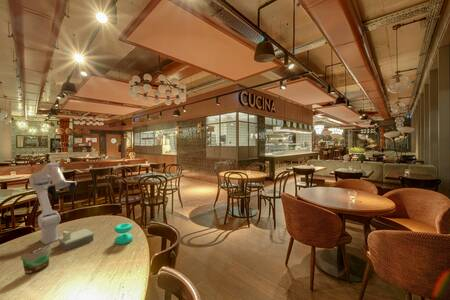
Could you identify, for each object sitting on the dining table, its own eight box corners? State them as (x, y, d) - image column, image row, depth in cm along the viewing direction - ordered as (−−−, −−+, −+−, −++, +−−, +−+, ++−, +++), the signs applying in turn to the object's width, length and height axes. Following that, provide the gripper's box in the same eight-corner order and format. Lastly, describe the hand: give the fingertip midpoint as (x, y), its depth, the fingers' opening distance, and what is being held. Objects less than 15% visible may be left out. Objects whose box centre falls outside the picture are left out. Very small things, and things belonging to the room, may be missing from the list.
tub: (59, 244, 124) (59, 239, 124) (85, 235, 136) (85, 230, 136) (66, 250, 118) (66, 244, 118) (93, 240, 130) (93, 234, 130)
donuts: (110, 227, 125) (123, 221, 134) (111, 243, 125) (124, 236, 135) (123, 230, 121) (135, 223, 131) (123, 246, 122) (136, 238, 132)
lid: (57, 240, 124) (57, 231, 123) (85, 231, 136) (85, 222, 136) (66, 246, 117) (65, 236, 117) (94, 235, 130) (94, 226, 129)
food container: (31, 278, 95) (30, 257, 94) (21, 276, 96) (20, 255, 95) (58, 262, 107) (57, 243, 106) (48, 260, 108) (47, 242, 107)
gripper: (42, 175, 110) (50, 195, 105) (74, 172, 122) (82, 189, 117) (40, 184, 113) (48, 203, 108) (71, 180, 125) (79, 197, 120)
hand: (65, 196), depth 113 cm, fingers open, 7 cm apart
